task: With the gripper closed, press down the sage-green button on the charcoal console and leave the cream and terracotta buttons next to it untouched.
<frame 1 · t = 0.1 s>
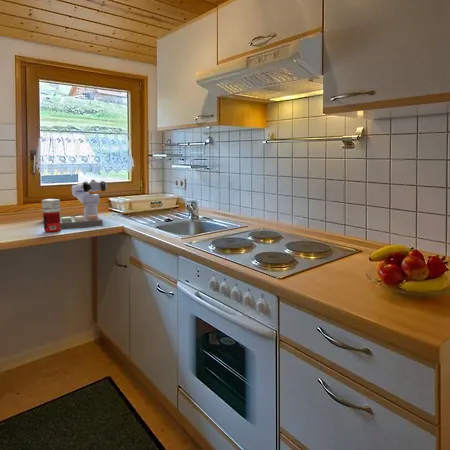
hand: (97, 186, 221), 22 cm above the countertop, tool horizontal, fingers open, 7 cm apart
cream button: (79, 219, 222), point 4 cm above the countertop, slide at 0.0 cm
canned food: (52, 231, 205), on the countertop
console: (80, 225, 223), on the countertop
supplement box: (52, 220, 238), on the countertop
sage button: (66, 220, 218), point 3 cm above the countertop, slide at 0.0 cm
terracotta button: (92, 218, 226), point 3 cm above the countertop, slide at 0.0 cm
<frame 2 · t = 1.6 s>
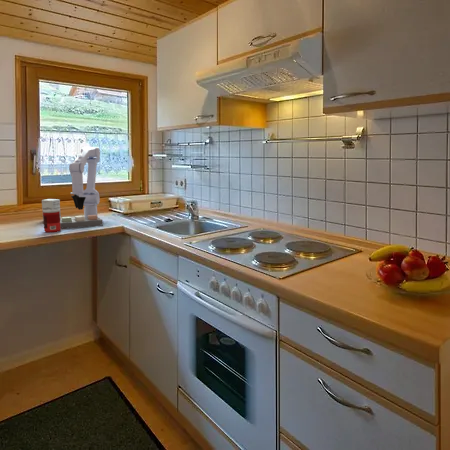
hand: (79, 208, 221), 9 cm above the countertop, tool pointing down, fingers open, 7 cm apart
nothing on the countertop moved.
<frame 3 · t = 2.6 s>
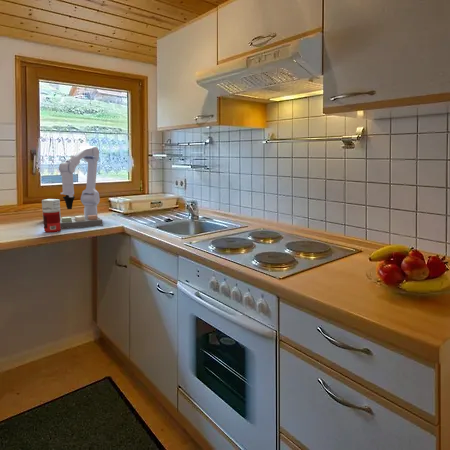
hand: (69, 209, 218), 10 cm above the countertop, tool pointing down, fingers closed
nothing on the countertop moved.
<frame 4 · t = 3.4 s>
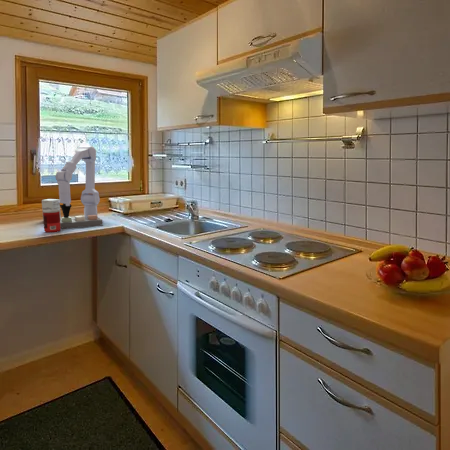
hand: (66, 217, 218), 5 cm above the countertop, tool pointing down, fingers closed, pressing on sage button
sage button: (66, 220, 218), point 3 cm above the countertop, slide at 0.0 cm, touching gripper
everything else where it was.
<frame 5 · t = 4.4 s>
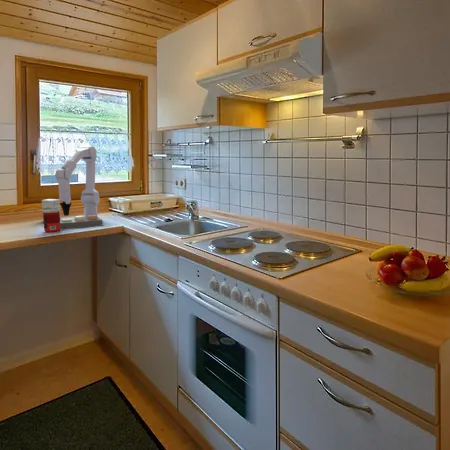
hand: (66, 215, 218), 6 cm above the countertop, tool pointing down, fingers closed
sage button: (66, 222, 219), point 2 cm above the countertop, slide at 1.2 cm
everything else where it was.
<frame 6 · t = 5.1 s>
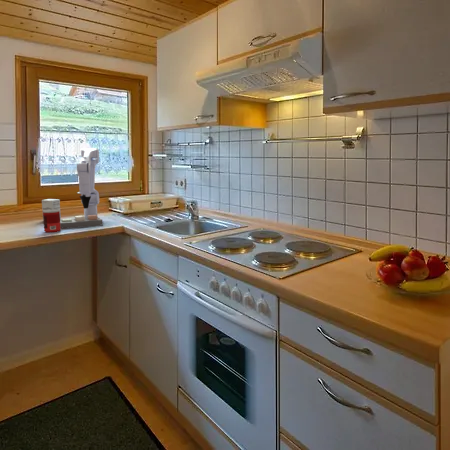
hand: (85, 208, 225), 9 cm above the countertop, tool pointing down, fingers closed
nothing on the countertop moved.
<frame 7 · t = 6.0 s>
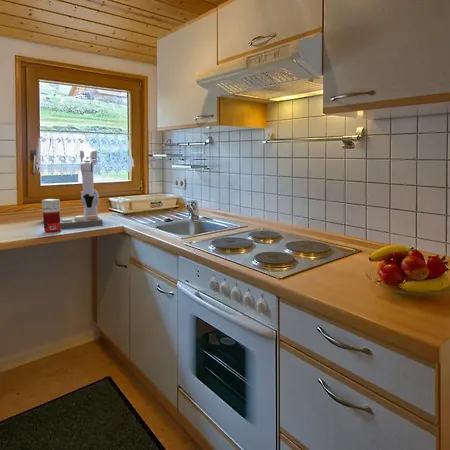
hand: (89, 207, 226), 9 cm above the countertop, tool pointing down, fingers closed
nothing on the countertop moved.
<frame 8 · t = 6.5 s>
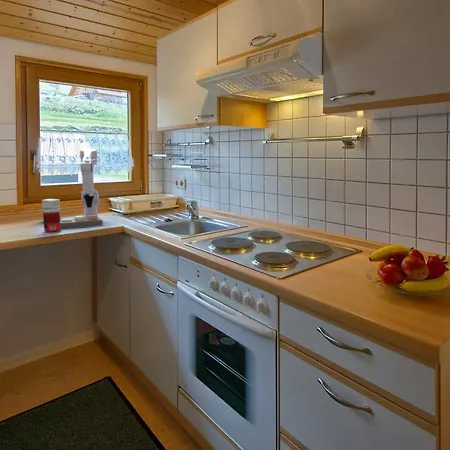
hand: (89, 207, 226), 9 cm above the countertop, tool pointing down, fingers closed
nothing on the countertop moved.
at the end: sage button slide at 1.2 cm; cream button slide at 0.0 cm; terracotta button slide at 0.0 cm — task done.
